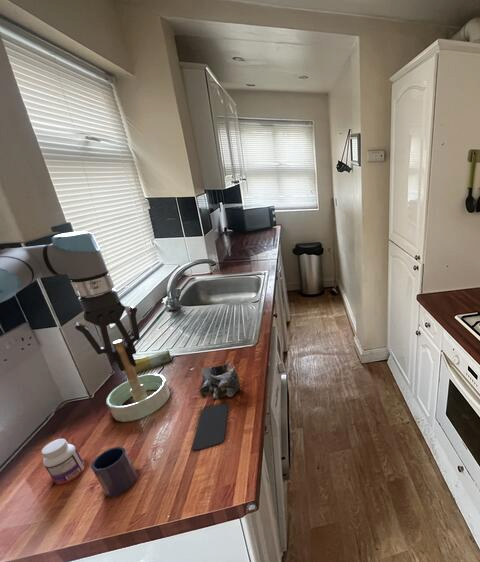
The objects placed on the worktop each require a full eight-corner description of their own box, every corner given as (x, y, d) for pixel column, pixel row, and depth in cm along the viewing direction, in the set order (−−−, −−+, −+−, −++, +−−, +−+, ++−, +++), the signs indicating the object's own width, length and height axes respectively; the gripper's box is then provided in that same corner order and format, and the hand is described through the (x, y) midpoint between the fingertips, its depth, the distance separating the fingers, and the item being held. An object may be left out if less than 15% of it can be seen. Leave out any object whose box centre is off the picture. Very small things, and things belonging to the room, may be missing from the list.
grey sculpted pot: (240, 359, 107) (235, 360, 93) (243, 391, 106) (238, 397, 92) (203, 366, 103) (191, 369, 90) (205, 399, 102) (194, 407, 88)
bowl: (101, 425, 86) (93, 409, 84) (134, 390, 99) (127, 375, 97) (153, 421, 87) (147, 405, 85) (179, 386, 100) (174, 372, 98)
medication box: (171, 359, 115) (168, 349, 114) (172, 361, 113) (169, 352, 111) (132, 372, 108) (128, 362, 107) (132, 375, 106) (128, 365, 104)
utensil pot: (99, 500, 67) (83, 472, 64) (118, 474, 73) (104, 447, 69) (127, 498, 67) (112, 469, 64) (144, 472, 73) (131, 445, 69)
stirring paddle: (137, 407, 91) (111, 345, 83) (135, 404, 93) (109, 342, 84) (150, 401, 93) (125, 340, 85) (147, 398, 95) (123, 337, 86)
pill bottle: (63, 469, 74) (45, 440, 71) (90, 461, 76) (74, 432, 72) (50, 490, 70) (30, 460, 66) (79, 481, 71) (62, 451, 68)
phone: (228, 402, 92) (224, 442, 79) (229, 404, 92) (224, 444, 79) (201, 409, 90) (191, 451, 77) (202, 411, 90) (192, 453, 77)
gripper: (58, 307, 71) (96, 386, 80) (135, 286, 82) (162, 358, 91) (54, 298, 76) (91, 375, 85) (128, 279, 87) (154, 349, 95)
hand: (127, 366), depth 88 cm, fingers closed on stirring paddle, 2 cm apart
